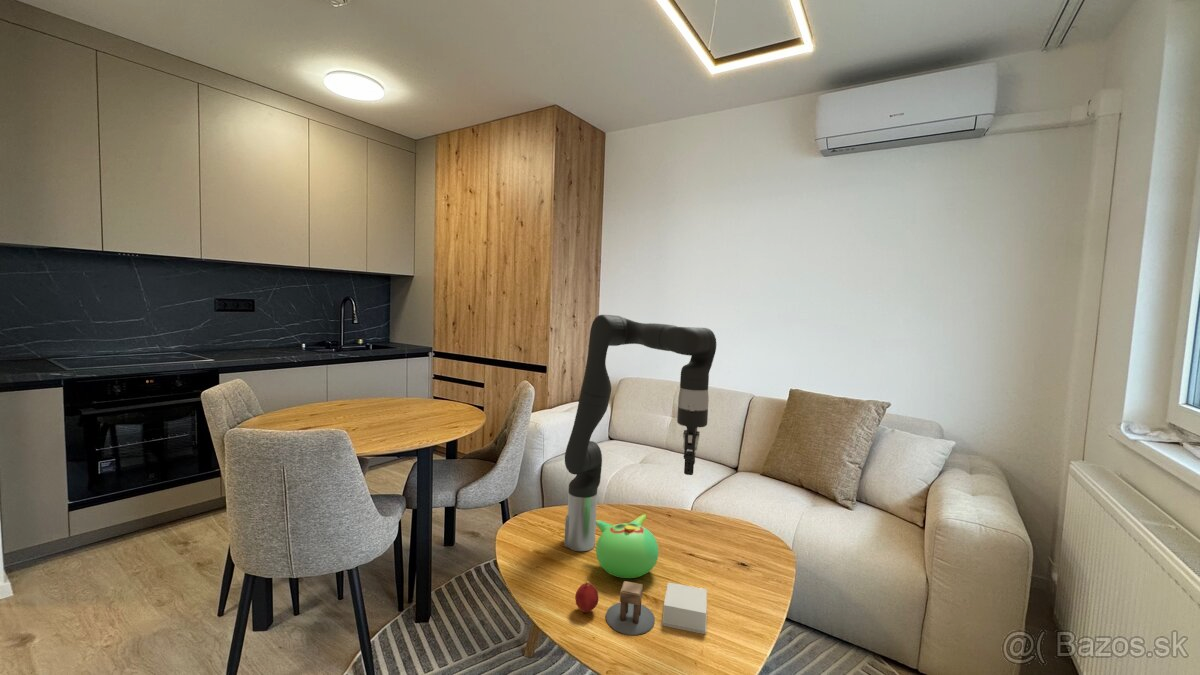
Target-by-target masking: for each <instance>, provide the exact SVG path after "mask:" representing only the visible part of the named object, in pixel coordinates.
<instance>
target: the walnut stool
mask: <svg viewBox="0 0 1200 675" xmlns="http://www.w3.org/2000/svg"><path fill="white" fill-rule="evenodd" d="M643 588H644V584H642V583H637V582H632V581H625V580H624V581H623V583H622V586H621V589H620V591H619V593H620V594H619V603H620V602H621V608H620V620H621V621H625V620H626V613H628V604H629V603H630V604H634V609H633V623H634V624H638V623H639V616H640V615H641V605H642V598H643V590H644V589H643Z"/></svg>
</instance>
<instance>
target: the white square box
mask: <svg viewBox="0 0 1200 675" xmlns="http://www.w3.org/2000/svg"><path fill="white" fill-rule="evenodd" d="M707 599H708V589H706V588H700V587H695V586H691V585H690V586H689V585H685V584H679V583H674V582H669V581H668V582H667V586H666V592H665V597H664V603H663V612H662V613H663V614H662V615H663V616H662V620H661V626H663V627H667V628H668V627H669V628H672V629H677V630H683V631H687V632H693V633H698V634H702V635H707V614H708V605H707Z"/></svg>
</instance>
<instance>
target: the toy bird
mask: <svg viewBox="0 0 1200 675" xmlns="http://www.w3.org/2000/svg"><path fill="white" fill-rule="evenodd" d="M646 518H647V514H645V513H644V514H641V515H640V516H638V517H636V518H635V519H633V520H632V521H630V522H629V523H627V522H626V523H625V522H624V523H617V524H613V525H612V524H610V523H607V522H605V521H603V520H599V519H598V520H597V519H596V521H595V523H596V527H597V528H598V529H599V530H600V531H601V532H602V533H600V536H599V537H598V539H597V542H596V547H595V548H596V550H595V552H596V558H597V561H598V563H599V565H600V566H601V567H602V569H603V570H604V571H605V572H607V573H608V574H610V575H612V576H614V577H617V578H621V579H634V578H639V577H642V576H644V575H646V574H648V573H649V572H651V570H653V569H654V567H655V566H656V564H657V561H658V559H659V553H660V552H659V544H658V542H657V538H656V537H655V536H654V534H653V533H652V532H651V531H650V530H649V529H647V528H645V527H644V526H643V524H644V522H645V520H646Z"/></svg>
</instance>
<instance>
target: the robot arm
mask: <svg viewBox="0 0 1200 675" xmlns="http://www.w3.org/2000/svg"><path fill="white" fill-rule="evenodd" d="M588 339H589V340H588V349H587V350H588V351H587V357H586V365H585V370H584V376H583V380H582V383H581V389H580V393H579V398H578V404H577V405H578V406H577V408H576V414H575V417H574V422H573V426H572V430H571V433H570V436H569V440H568V443H567V446H566V449H565V452H564V464H565V465H564V466H565V468H566V470H567V471H568V473H569V474H571V475H576V476H575V477H574V478H573V479H572V480H570V482H569V484H568V491H567V492H568V494H567V495H568V496H567V498H568V499H567V515H566V516H565V518H564V519H565V521H564V540H563V541H564V542H563V545H564V547H565V548H568V549H570V550H572V551H574V552H575V551H576V552H588V551H591V550H592V549H594V548H595V545H596V528H597V525H596V523H595V521H596V520H597V507H598V506H597V505H598V504H597V503H598V501H597V500H598V489H599V486H600V484H601V476H602V475H601V474H602V467H603V465H602V464H603V455H602V450H601V447H600V446H599V444H597V443H596V442H595V441H592V440H591V438H592V435H593V434H594V431H595V429H596V428H597V427H598V425H599V424H600V422H601V420H602V419H603V418H604V416H605V414H606V412H607V410H608V407H609V402H610V400H611V393H612V383H611V379H610V376H609V374H608V370H607V366H606V365H607V364H606V363H607V362H606V360H607V354H608V350H609V346H610V347H617V346H623V345H624V346H625V345H642V346H644V347H647V348H650V349H654V350H657V351H658V350H659V351H665V352H672V353H676V354H678V355H683V356H688V357H689V356H690V359H689V361H688V363H687V364H685V365H683V366H682V367H681V368H680V369H681V370H680V378H679V379H680V380H679V381H680V382H679V390H678V400H677V417H676V418H677V419H676V421H677V424H678V425H680V426H681V427H682V426H683V427H686V429H684V430H683V433H682V438H683V439H682V440H683V444H682V450H683V452H684V453H683V459H684V468H683V473H684V475H686V476H693V475H694V467H695V466H694V465H695V463H696V453H697V452H698V446H699V441H700V432H701V431H698V428H704V427H707V425H708V419H709V417H708V416H709V402H710V401H709V400H710V398H709V384H710V383H709V381H710V380H709V379H710V377H709V376H710V372H711V371H710V370H711V368H712V365H713V362H714V359H715V354H716V350H717V338H716V335H715V333H714V331H712V330H711V329H710V328H708V327H687V326H676V325H673V324H665V323H655V322H654V323H651V322H649V323H643V322H637V321H634V320H631V319H628V318H626V317H623V316H621V315H613V314H599V315H597V316H596V317H595V318H594V319H593V321H592V323H591V327H590V332H589V338H588Z"/></svg>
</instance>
